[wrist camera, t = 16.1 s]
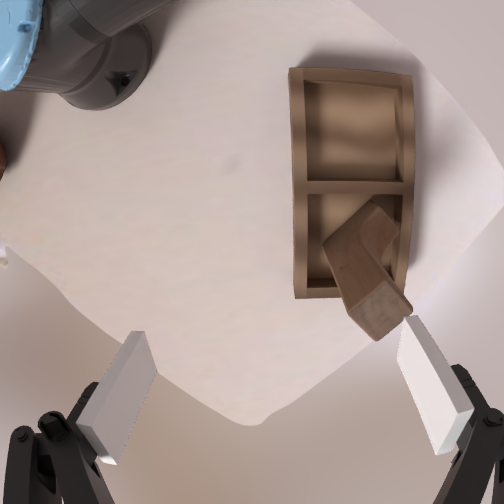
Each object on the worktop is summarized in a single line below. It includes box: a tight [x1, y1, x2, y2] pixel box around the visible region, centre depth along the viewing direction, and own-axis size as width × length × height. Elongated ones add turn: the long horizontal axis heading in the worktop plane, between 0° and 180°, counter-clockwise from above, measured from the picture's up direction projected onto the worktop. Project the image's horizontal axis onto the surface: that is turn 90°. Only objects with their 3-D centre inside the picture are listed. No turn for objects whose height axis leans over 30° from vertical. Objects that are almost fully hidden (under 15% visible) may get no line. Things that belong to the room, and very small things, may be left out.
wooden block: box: [322, 200, 413, 341], centre depth 33 cm, size 9×4×18 cm, turn 136°
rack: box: [288, 68, 415, 299], centre depth 38 cm, size 28×15×4 cm, turn 3°
